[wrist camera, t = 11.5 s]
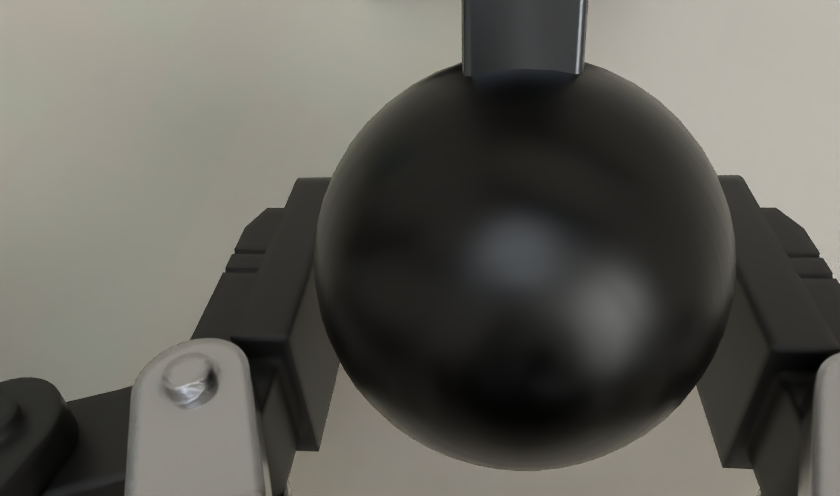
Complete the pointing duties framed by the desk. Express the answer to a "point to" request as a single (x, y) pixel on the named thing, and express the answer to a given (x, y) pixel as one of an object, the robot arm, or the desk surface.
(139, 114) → the desk surface
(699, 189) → the power lever
